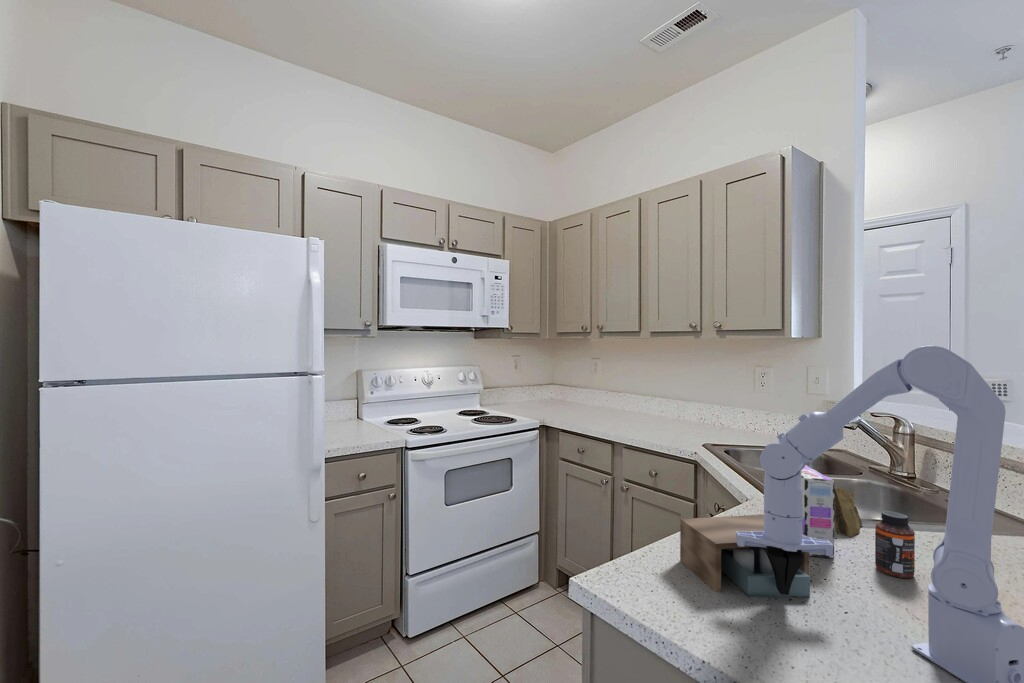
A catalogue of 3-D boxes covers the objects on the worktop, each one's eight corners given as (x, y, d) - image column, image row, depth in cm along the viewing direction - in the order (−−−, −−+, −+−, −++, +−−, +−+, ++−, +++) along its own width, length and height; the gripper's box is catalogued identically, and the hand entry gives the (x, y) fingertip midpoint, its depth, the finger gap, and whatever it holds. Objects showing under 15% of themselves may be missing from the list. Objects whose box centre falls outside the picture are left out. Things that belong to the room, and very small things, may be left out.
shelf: (809, 583, 84) (809, 537, 85) (716, 591, 81) (716, 543, 81) (763, 554, 96) (763, 514, 96) (680, 560, 93) (680, 519, 93)
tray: (809, 596, 80) (809, 567, 80) (747, 596, 80) (747, 567, 80) (770, 564, 92) (770, 539, 92) (716, 564, 92) (716, 538, 92)
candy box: (836, 559, 95) (835, 479, 95) (804, 556, 96) (804, 478, 96) (807, 533, 108) (807, 463, 108) (779, 531, 109) (779, 462, 110)
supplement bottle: (908, 582, 85) (908, 522, 85) (870, 569, 90) (870, 512, 90) (919, 574, 88) (919, 515, 89) (881, 562, 93) (881, 506, 94)
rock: (846, 509, 118) (812, 505, 117) (867, 489, 113) (832, 484, 112) (874, 549, 109) (837, 545, 108) (898, 529, 105) (860, 525, 103)
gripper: (742, 515, 76) (742, 597, 76) (841, 525, 73) (841, 610, 73) (733, 502, 83) (732, 577, 83) (823, 510, 80) (823, 588, 79)
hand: (782, 591), depth 78 cm, fingers closed
